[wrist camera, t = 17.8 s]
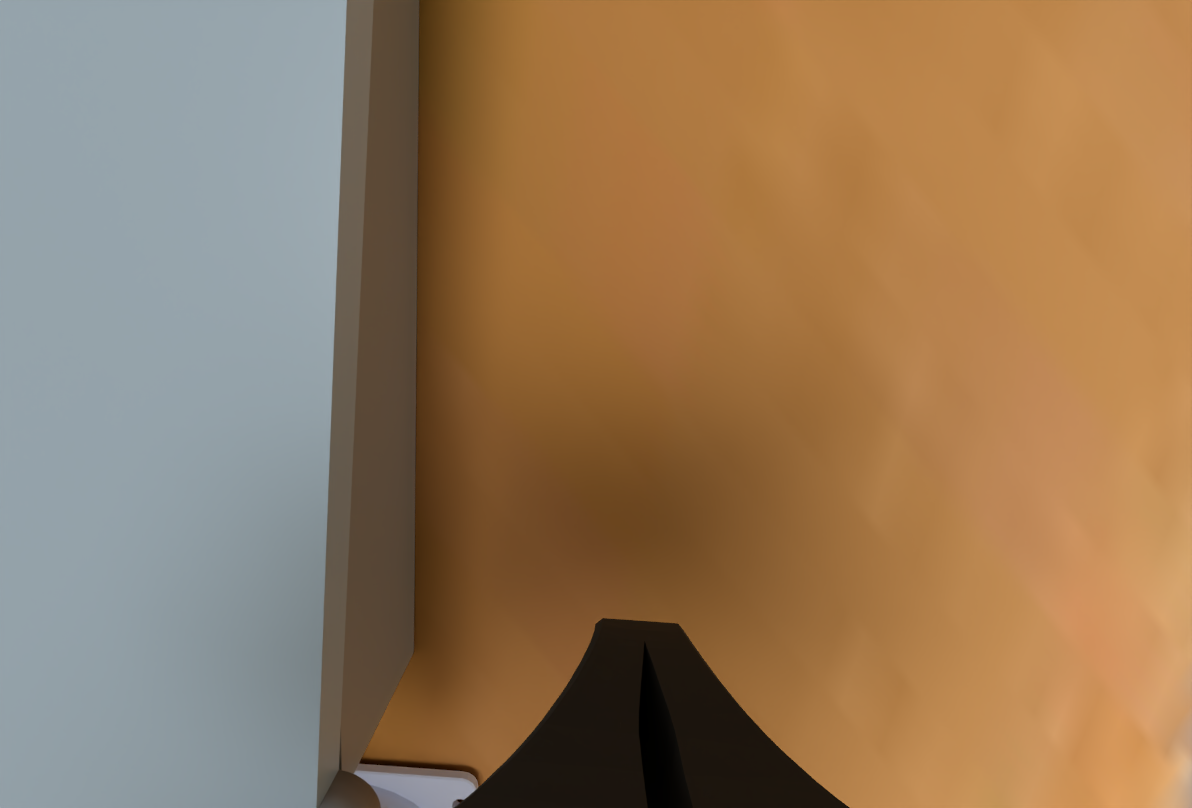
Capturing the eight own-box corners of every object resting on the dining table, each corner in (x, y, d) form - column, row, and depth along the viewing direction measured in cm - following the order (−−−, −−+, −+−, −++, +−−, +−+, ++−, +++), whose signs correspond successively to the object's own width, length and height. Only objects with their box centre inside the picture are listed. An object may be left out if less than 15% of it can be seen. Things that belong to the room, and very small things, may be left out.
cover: (378, 849, 16) (356, 906, 14) (-168, 783, 16) (-242, 833, 14) (445, -217, 11) (421, -282, 10) (-325, -314, 11) (-456, -392, 10)
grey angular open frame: (413, 652, 22) (342, 797, 16) (72, 627, 22) (-121, 762, 16) (419, -63, 17) (323, -219, 12) (-7, -89, 17) (-312, -257, 12)
